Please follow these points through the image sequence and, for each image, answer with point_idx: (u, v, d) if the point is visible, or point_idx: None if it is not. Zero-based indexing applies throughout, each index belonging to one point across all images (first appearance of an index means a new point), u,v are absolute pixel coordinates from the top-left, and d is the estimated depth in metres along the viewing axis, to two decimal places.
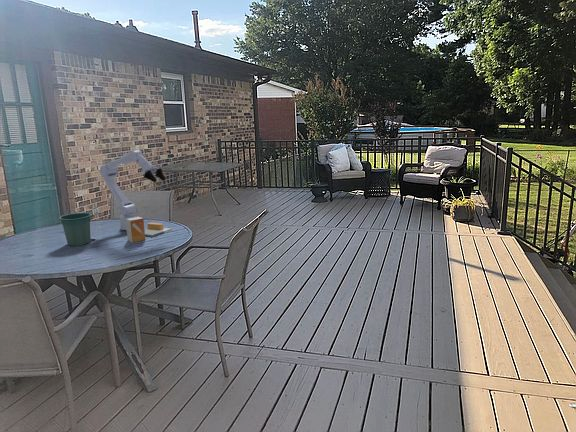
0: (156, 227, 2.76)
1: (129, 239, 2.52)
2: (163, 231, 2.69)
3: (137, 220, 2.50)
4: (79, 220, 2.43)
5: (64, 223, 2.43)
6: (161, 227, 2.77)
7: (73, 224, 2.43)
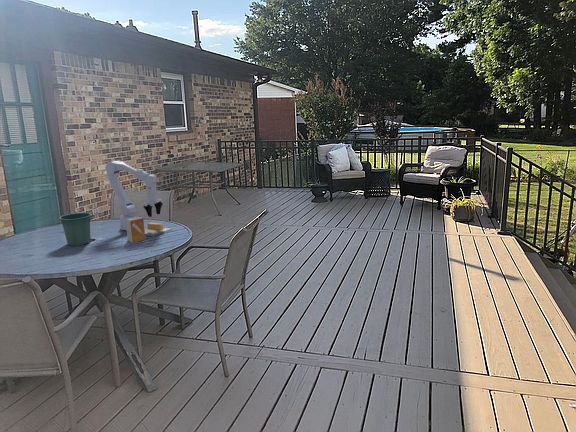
0: (156, 227, 2.76)
1: (129, 239, 2.52)
2: (163, 231, 2.69)
3: (137, 220, 2.50)
4: (79, 220, 2.43)
5: (64, 223, 2.43)
6: (161, 227, 2.77)
7: (73, 224, 2.43)
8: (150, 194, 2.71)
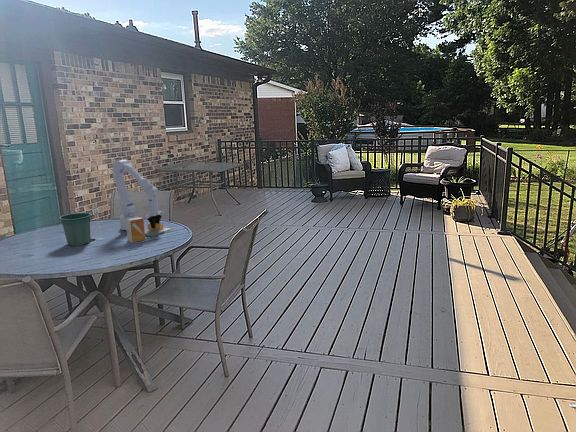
0: (156, 227, 2.76)
1: (129, 239, 2.52)
2: (163, 231, 2.69)
3: (137, 220, 2.50)
4: (79, 220, 2.43)
5: (64, 223, 2.43)
6: (161, 227, 2.77)
7: (73, 224, 2.43)
8: (151, 206, 2.73)
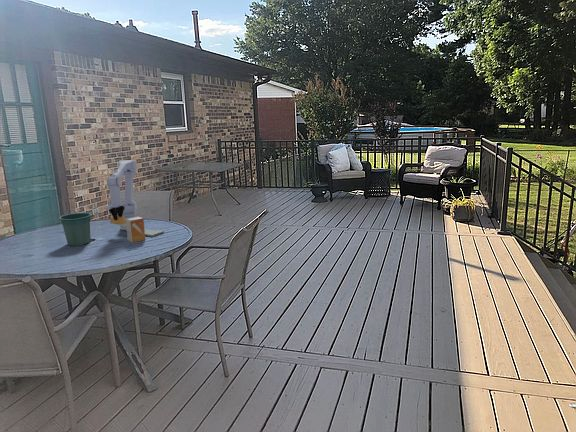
0: (119, 221, 2.60)
1: (129, 239, 2.52)
2: (163, 231, 2.69)
3: (137, 220, 2.50)
4: (79, 220, 2.43)
5: (64, 223, 2.43)
6: (124, 221, 2.60)
7: (73, 224, 2.43)
8: None
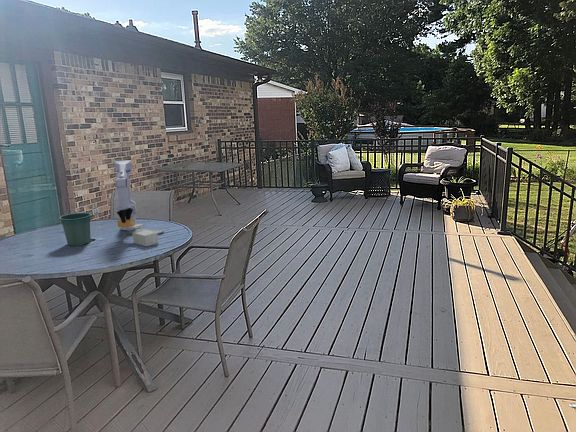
0: (127, 223, 2.53)
1: (133, 237, 2.48)
2: (163, 231, 2.69)
3: (151, 244, 2.45)
4: (79, 220, 2.43)
5: (64, 223, 2.43)
6: (132, 223, 2.53)
7: (73, 224, 2.43)
8: (118, 199, 2.51)
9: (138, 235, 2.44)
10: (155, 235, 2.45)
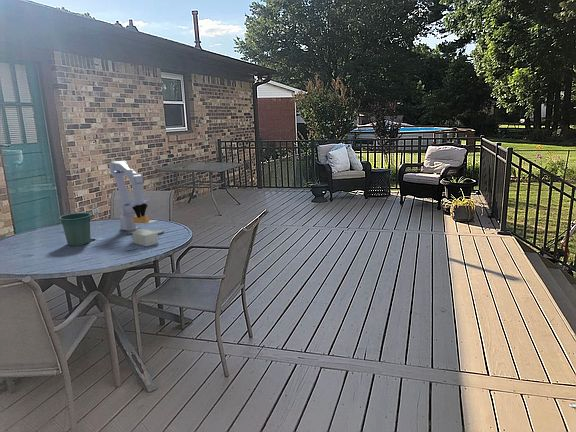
0: (142, 219, 2.67)
1: (133, 237, 2.48)
2: (163, 231, 2.69)
3: (151, 244, 2.45)
4: (79, 220, 2.43)
5: (64, 223, 2.43)
6: (147, 219, 2.67)
7: (73, 224, 2.43)
8: (134, 195, 2.63)
9: (138, 235, 2.44)
10: (155, 235, 2.45)
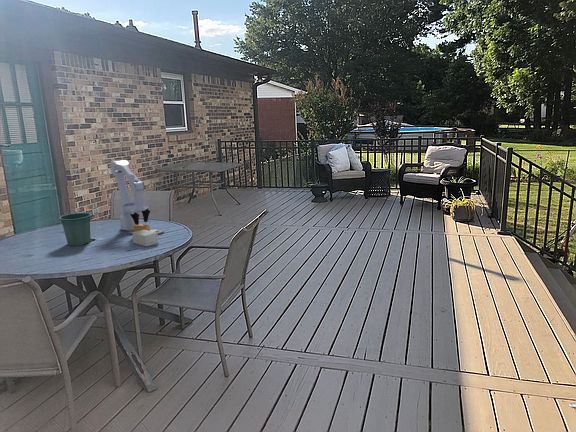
0: (143, 228, 2.68)
1: (133, 237, 2.48)
2: (163, 231, 2.69)
3: (151, 244, 2.45)
4: (79, 220, 2.43)
5: (64, 223, 2.43)
6: (148, 228, 2.68)
7: (73, 224, 2.43)
8: (135, 201, 2.64)
9: (138, 235, 2.44)
10: (155, 235, 2.45)
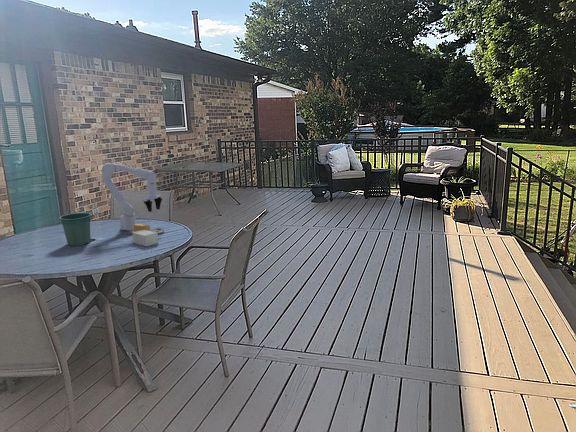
0: (143, 228, 2.68)
1: (133, 237, 2.48)
2: (163, 231, 2.69)
3: (151, 244, 2.45)
4: (79, 220, 2.43)
5: (64, 223, 2.43)
6: (148, 228, 2.68)
7: (73, 224, 2.43)
8: (153, 189, 2.81)
9: (138, 235, 2.44)
10: (155, 235, 2.45)
